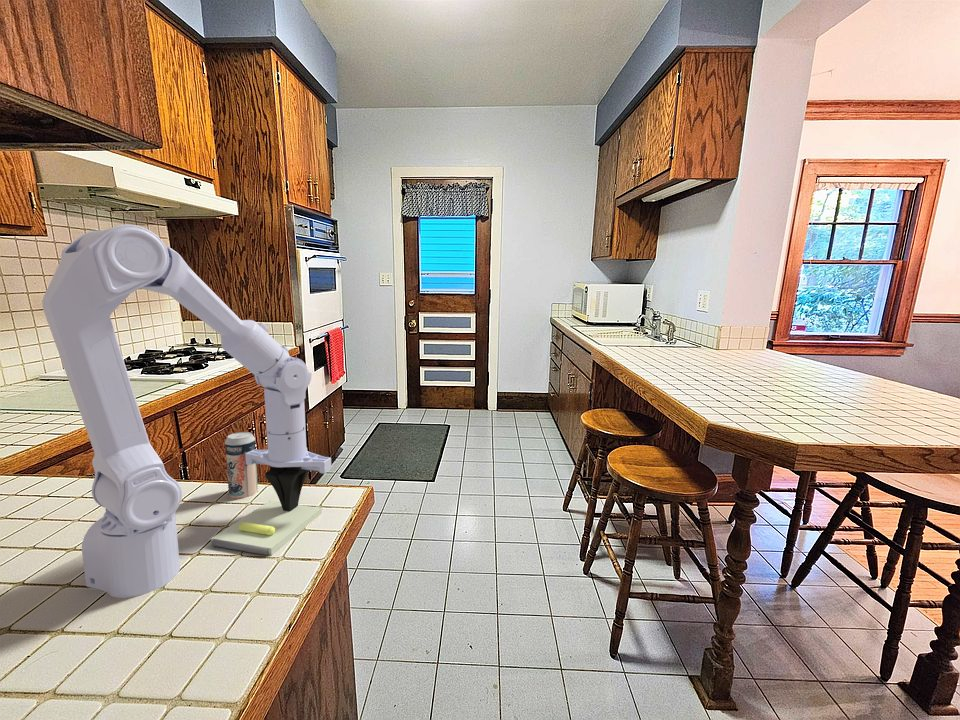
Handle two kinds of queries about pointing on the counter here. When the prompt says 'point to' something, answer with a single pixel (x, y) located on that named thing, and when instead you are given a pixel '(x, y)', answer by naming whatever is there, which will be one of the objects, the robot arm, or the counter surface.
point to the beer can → (240, 465)
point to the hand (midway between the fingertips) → (290, 508)
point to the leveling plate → (266, 528)
